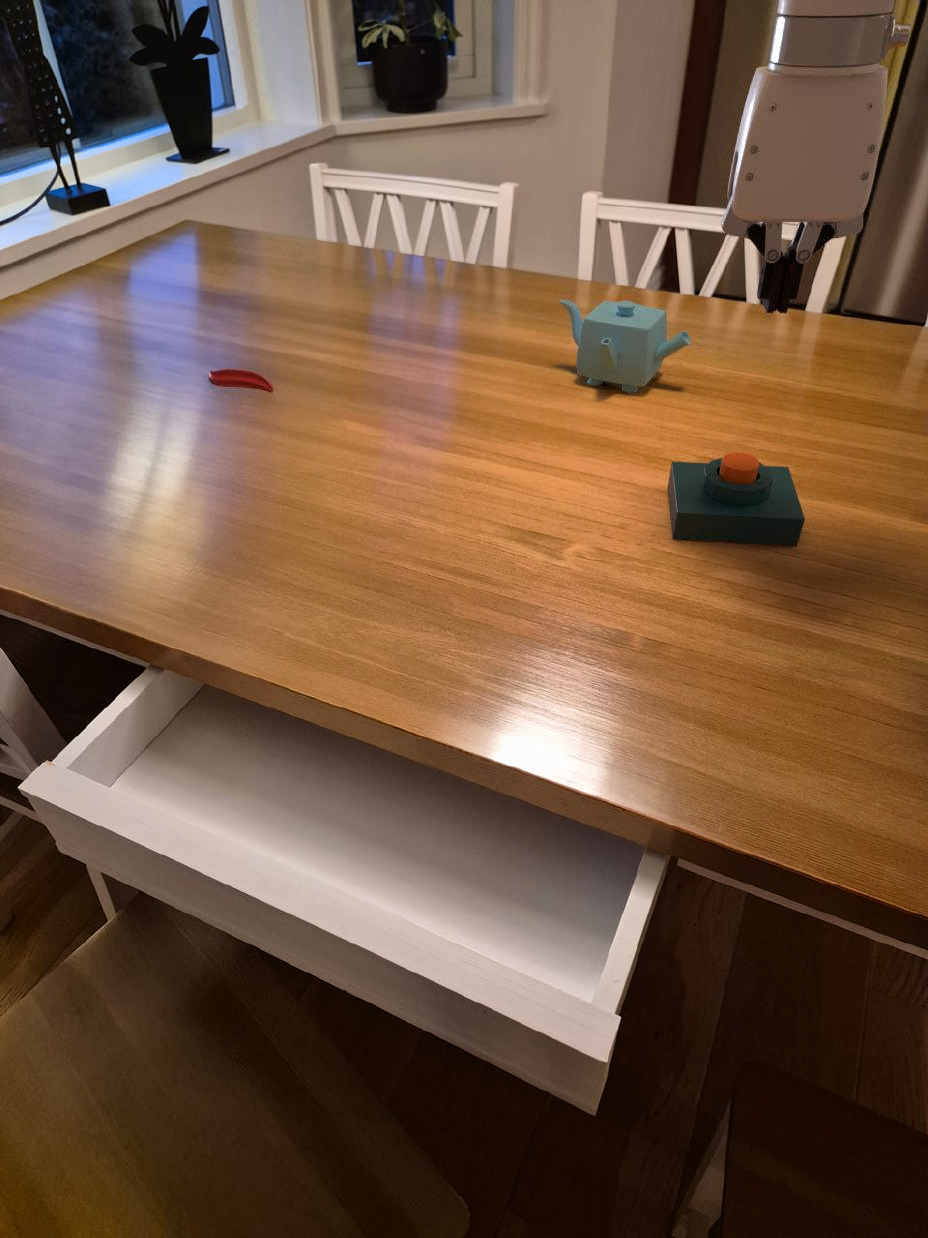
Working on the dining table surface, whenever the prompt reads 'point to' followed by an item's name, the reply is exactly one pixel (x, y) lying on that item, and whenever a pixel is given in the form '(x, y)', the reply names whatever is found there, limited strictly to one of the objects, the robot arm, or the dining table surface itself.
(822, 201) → the robot arm
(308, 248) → the dining table surface
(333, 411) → the dining table surface
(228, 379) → the cayenne pepper
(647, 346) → the teapot
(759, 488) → the teal box orange button
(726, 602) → the dining table surface
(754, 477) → the orange round cap
